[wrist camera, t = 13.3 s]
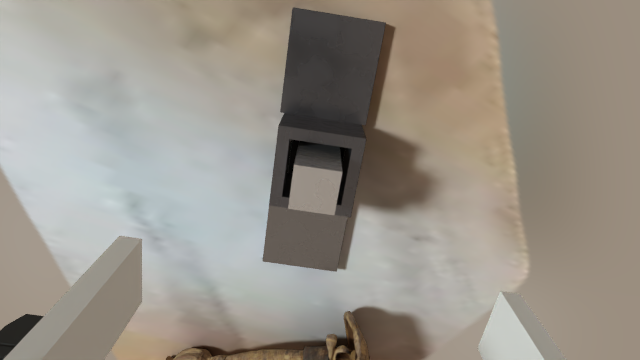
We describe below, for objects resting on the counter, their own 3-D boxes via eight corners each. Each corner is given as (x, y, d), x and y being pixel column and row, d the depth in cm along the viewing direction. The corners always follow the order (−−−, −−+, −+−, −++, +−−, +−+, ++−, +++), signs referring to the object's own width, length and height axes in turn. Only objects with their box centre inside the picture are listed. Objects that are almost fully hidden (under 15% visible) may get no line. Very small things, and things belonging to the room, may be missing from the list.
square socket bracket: (293, 7, 35) (287, 4, 29) (384, 22, 35) (395, 22, 30) (264, 256, 44) (254, 290, 38) (336, 266, 44) (337, 301, 39)
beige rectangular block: (301, 131, 39) (294, 164, 30) (338, 136, 39) (342, 171, 30) (296, 166, 40) (287, 208, 31) (332, 171, 40) (334, 215, 31)
